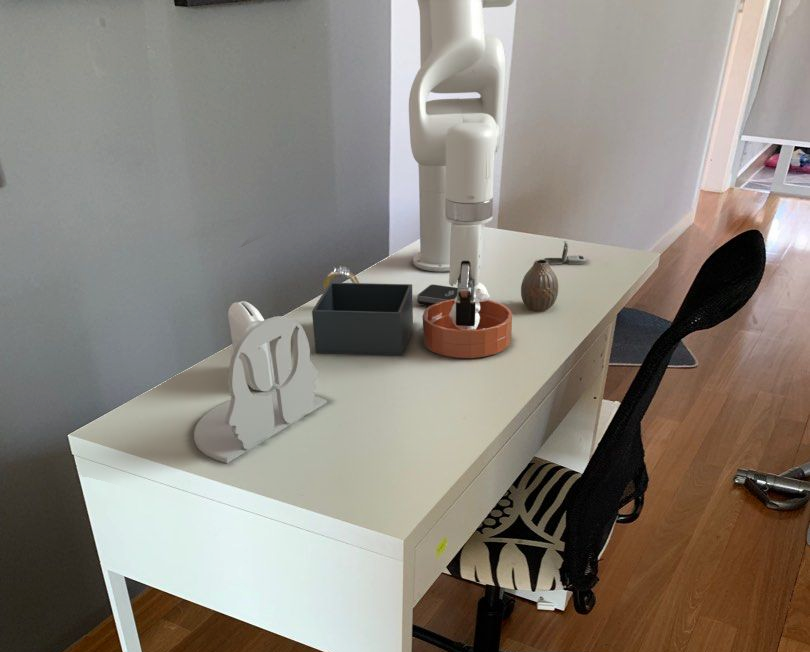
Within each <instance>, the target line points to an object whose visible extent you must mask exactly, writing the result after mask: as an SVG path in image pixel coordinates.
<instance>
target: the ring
mask: <svg viewBox="0 0 810 652" xmlns="http://www.w3.org/2000/svg"><path fill="white" fill-rule="evenodd" d="M336 277H346V278H348V280H350V281H351V283H360V281H359V279H358V278H357V277H356V275H355V274H354V273H352V272H351V269H350V268H348V267H346V266H345V265H344V266H343V265H342V264H341V265H340V264H339V267H335V266H333V270H332V271H331V272H330V273H329V274H328V275H327V276H326V278H325V279H324V281H323V292H324V291H325V290H326V288H327V286H328V285H329V283H331V280H333V279H335V278H336Z"/></svg>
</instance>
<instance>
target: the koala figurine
mask: <svg viewBox="0 0 810 652" xmlns="http://www.w3.org/2000/svg"><path fill="white" fill-rule="evenodd" d="M460 283H461V278H460ZM468 284H472V280H469V283H468ZM459 285H460V284H459ZM468 291H470V293H471V288H468ZM470 295H471V294H470ZM490 298H491V296H490V294H489V293H488V289H487V288H486V286H485V285H484V284H483V283H481V282H480V281H479V283H478V285H476V286H475V288H474V302H476V303H475V325H474V326H457V325H456V301H457V297H456V298H455V303H454V305H453V306H452V310H451V312H450V313H449V317H450V319H451V322H452V323H453V324H454V325H455V326H456V327H458V328H459V329H460V330H476V328H477V326H478V324H479V320H480V316H479V314H478V313H477V312H479V311H480V303H479V302H484V301H488V300H490ZM483 329H485V328H483Z"/></svg>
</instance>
